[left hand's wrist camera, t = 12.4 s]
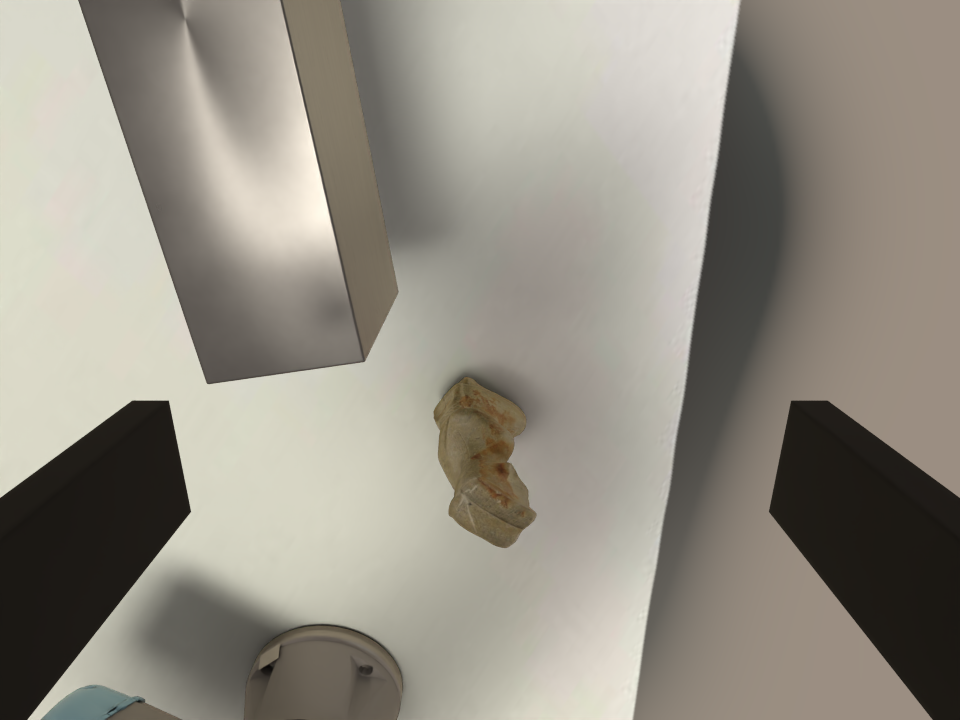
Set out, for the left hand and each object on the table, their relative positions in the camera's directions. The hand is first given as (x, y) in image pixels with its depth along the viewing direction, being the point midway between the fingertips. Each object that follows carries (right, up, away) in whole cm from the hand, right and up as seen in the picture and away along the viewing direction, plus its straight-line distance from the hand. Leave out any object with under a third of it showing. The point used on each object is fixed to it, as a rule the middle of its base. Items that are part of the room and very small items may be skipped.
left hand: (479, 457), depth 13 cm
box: (-9, +16, +16) cm, 25 cm away
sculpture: (0, -2, +37) cm, 37 cm away
